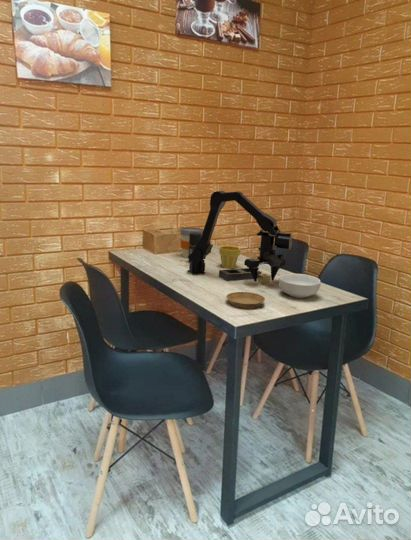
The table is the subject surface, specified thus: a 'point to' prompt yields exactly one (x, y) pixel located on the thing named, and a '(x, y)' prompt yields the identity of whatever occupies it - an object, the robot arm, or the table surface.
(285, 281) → the cereal bowl
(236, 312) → the table surface
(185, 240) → the reusable coffee cup
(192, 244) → the deodorant
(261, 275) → the nut
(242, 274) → the rail
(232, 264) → the plant pot
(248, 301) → the plant saucer
